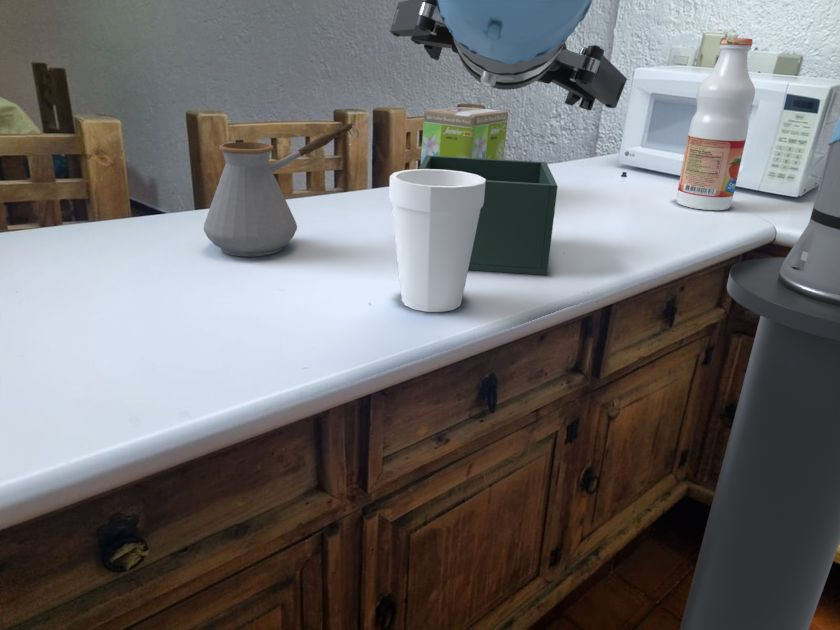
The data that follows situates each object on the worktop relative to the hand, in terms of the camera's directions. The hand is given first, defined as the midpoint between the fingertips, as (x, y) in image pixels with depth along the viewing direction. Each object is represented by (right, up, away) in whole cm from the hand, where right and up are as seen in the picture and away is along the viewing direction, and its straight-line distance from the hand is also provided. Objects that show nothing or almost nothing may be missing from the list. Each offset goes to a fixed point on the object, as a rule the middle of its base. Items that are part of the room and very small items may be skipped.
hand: (506, 67), depth 63 cm
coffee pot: (-26, -14, +24) cm, 38 cm away
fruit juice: (+43, -4, +56) cm, 71 cm away
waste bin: (0, -15, +24) cm, 29 cm away
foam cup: (-7, -22, +7) cm, 24 cm away
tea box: (-1, -2, +58) cm, 58 cm away
